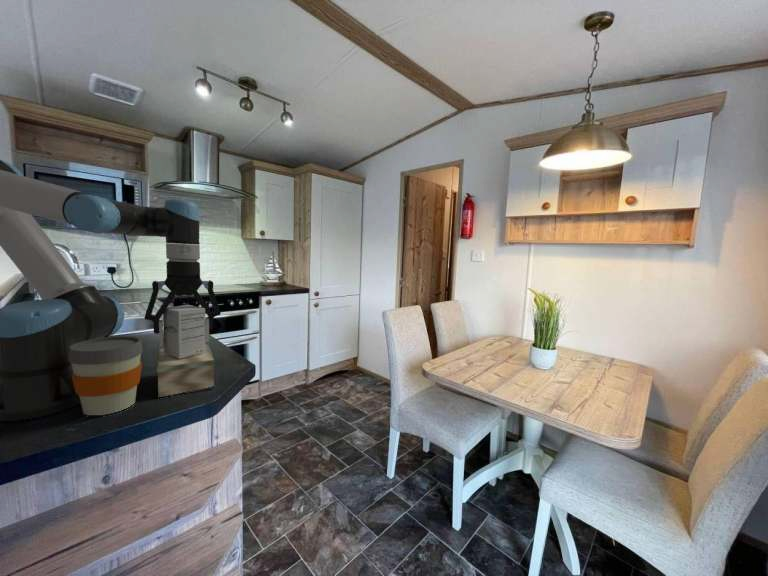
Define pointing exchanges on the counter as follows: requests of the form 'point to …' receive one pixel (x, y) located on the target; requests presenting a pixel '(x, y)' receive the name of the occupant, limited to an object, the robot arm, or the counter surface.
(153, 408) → the counter surface
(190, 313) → the supplement box
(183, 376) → the maple box
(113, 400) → the reusable coffee cup
